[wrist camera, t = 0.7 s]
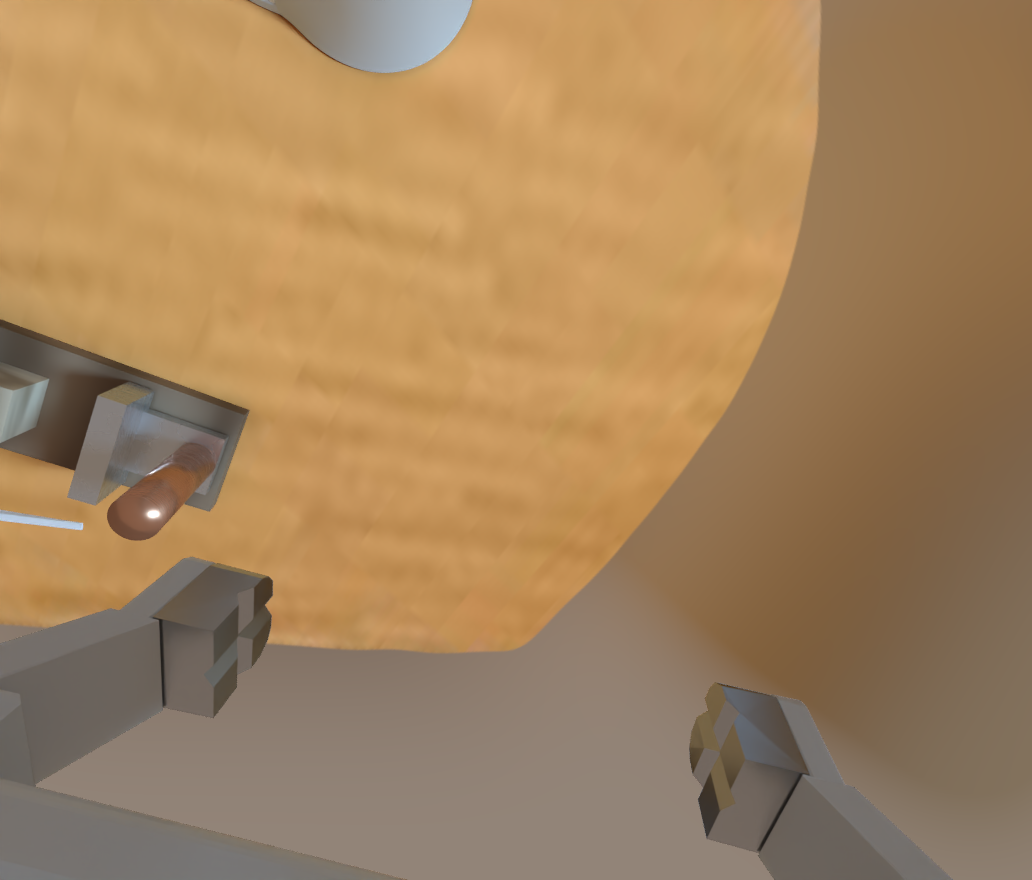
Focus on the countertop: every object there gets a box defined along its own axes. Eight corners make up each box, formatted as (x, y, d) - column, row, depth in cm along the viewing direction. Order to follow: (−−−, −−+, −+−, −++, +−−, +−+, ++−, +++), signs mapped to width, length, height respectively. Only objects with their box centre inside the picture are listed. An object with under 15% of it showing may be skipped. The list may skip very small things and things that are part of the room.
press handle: (100, 474, 43) (2, 542, 33) (129, 381, 42) (35, 422, 31) (203, 506, 46) (143, 579, 35) (234, 419, 44) (180, 469, 33)
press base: (-63, 417, 42) (-143, 444, 36) (-37, 306, 40) (-117, 314, 34) (215, 504, 47) (187, 540, 41) (249, 410, 46) (225, 433, 40)
